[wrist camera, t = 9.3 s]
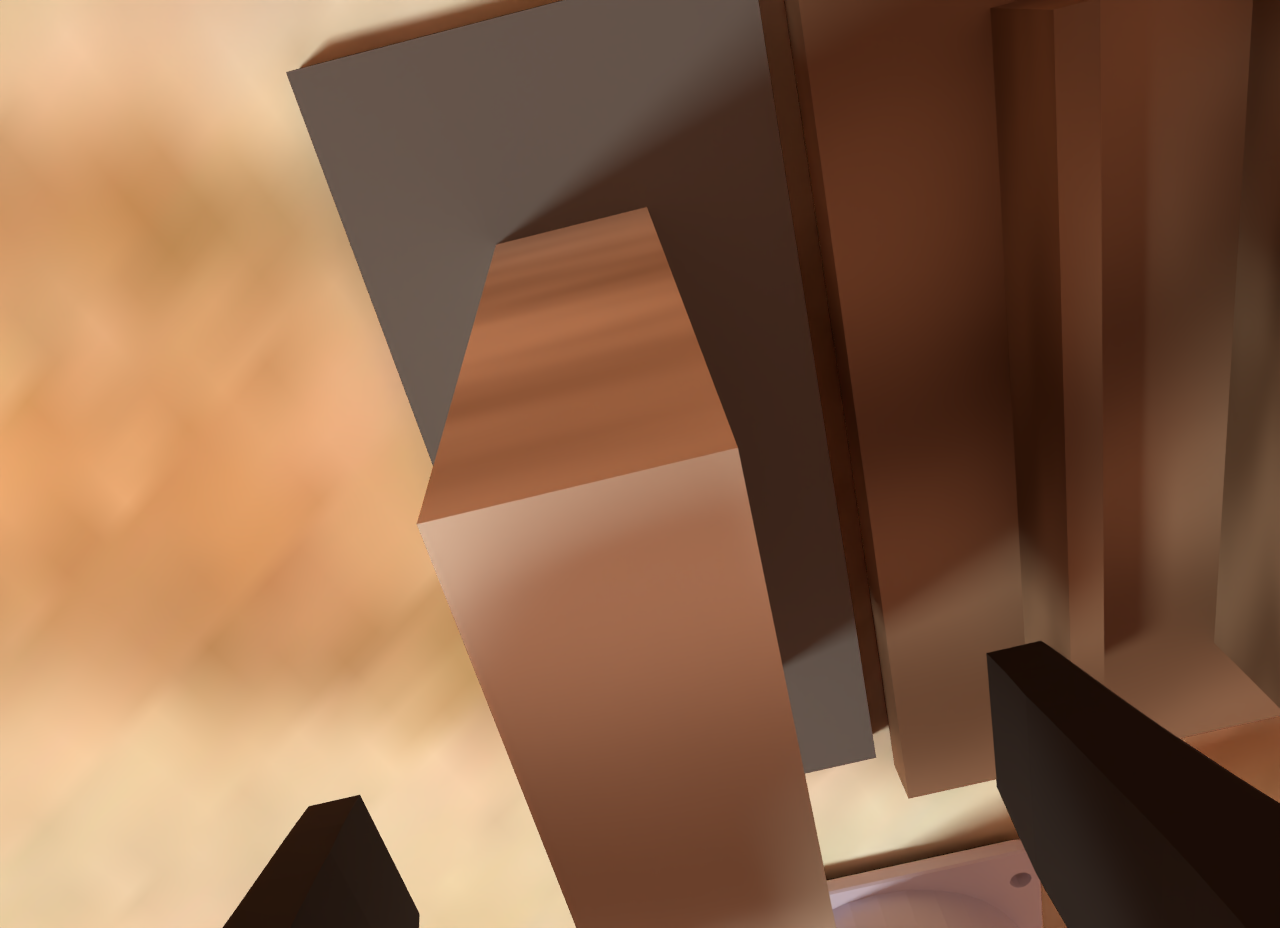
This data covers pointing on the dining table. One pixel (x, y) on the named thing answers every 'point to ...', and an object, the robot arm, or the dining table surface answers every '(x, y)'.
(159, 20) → the dining table surface
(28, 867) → the dining table surface
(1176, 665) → the walnut rack
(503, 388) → the brown rectangular block
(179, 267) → the dining table surface
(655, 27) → the gray rectangular plate
